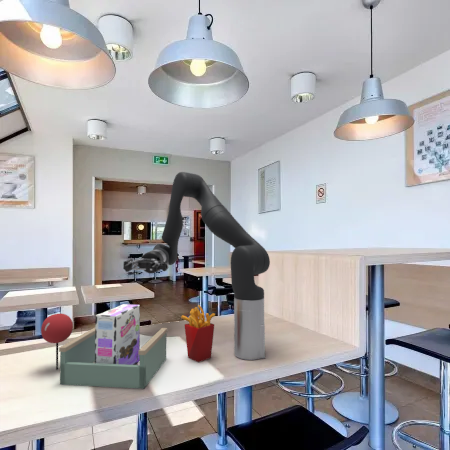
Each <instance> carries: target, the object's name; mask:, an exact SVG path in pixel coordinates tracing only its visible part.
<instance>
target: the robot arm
mask: <svg viewBox="0 0 450 450" xmlns="http://www.w3.org/2000/svg"><path fill="white" fill-rule="evenodd" d="M184 197H185V198H193V199H194V200H196V202H198V203H199V205H200V206H201V209H200V217H201V220H202V221H203V224H204V225H205V226H206V227H207V228H208V230H209V231H210V232H211V233H212V234H213V235H214V236H216V238H219V239H220V240H222V241H224V242H225V243H227V244H229V245H230V246H232V247H233V248H234V249H233V251H232V252H231V255H230V256H231V257H230V280H231V288H232V291H233V293H234V294H233V296H234V297H233V298H234V299H233V306H234V308H233V311H234V312H233V313H234V314H233V315H234V316H233V318H234V319H233V323H234V324H233V330H234V332H233V335H234V337H233V339H234V344H233V346H234V347H233V349H234V356H235V357H237V358H238V359H241V360H246V361H247V360H249V361H251V360H252V361H253V360H258V359H259V360H260V359H265V357H266V355H265V354H266V349H265V348H266V346H265V345H266V343H265V342H266V341H265V340H266V338H265V337H266V336H265V334H266V332H265V331H266V330H265V329H266V328H265V327H266V326H265V290H264V288H263V287H261V286H259V285H257V284H256V281H255V276H256V275H261V274H264V273H266V272H267V271H268V270H269V268H270V265H271V264H270V263H271V261H270V256H269V253H268V252H267V250H266V249H265V248H264V246H263V245H261V243H259V242H258V241H257V240H256V239H255V238H254V237H252V235H250V234H249V233H248V232H247V230H245V229H244V227H243V226H242V225H241V223H239V222H238V220H237V219H235V217H234V216H233V215H232V213H231V212H230V211H229V210H228V209H227V207H226V206H225V205H223V203H222V202H221V201H220V200H219V199H218V197H217V196H216V195H215V194H214V193H213V191H212V190H211V189H210V187H209V185H208V184H207V183H206V181H205V180H204V178H203V177H202V175H199V174H196V173H191V172H186V171H180V172H178V173H177V174H176V175H175V177H174V179H173V182H172V186H171V193H170V199H169V206H168V207H169V208H168V212H167V217H166V218H167V219H166V222H165V225H164V228H163V231H162V234H161V241H163V242H164V244H162V243H157V244H155V246H154V247H153V249H152V250H150V251H147V252H145V253H144V254H142V256H141V257H140V258H139V259H133V258H129V259H127V260H125V261H123V265H122V266H123V270H124V271H125V272H130V271H141V270H142V271H144V272H145V273H148V274H154V273H157V272H160V271H162V272H166V271H167V270H168V269H169V266H173V265H174V264H175V263H176V262H177V259H178V253H179V252H178V251H179V250H178V249H179V248H178V246H179V242H180V241H179V240H180V237H181V234H182V231H183V228H184V221H183V220H184V219H183V215H182V211H181V210H182V209H181V204H182V201H183V198H184ZM165 244H167V245H168V246H167V245H165Z"/></svg>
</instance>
